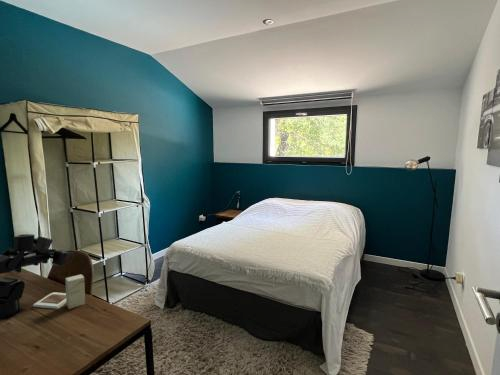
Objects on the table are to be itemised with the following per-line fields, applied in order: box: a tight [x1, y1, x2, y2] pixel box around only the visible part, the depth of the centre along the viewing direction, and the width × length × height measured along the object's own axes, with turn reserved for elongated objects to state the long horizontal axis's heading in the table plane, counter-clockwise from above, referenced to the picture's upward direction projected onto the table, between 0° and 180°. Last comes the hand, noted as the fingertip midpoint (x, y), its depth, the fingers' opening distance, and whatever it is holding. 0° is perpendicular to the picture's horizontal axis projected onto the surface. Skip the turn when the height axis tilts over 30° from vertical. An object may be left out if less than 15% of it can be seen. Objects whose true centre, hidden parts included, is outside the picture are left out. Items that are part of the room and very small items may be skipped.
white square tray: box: [33, 291, 66, 310], centre depth 117 cm, size 10×11×1 cm
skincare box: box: [64, 273, 86, 310], centre depth 115 cm, size 6×4×12 cm
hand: (63, 252), depth 130 cm, fingers open, 9 cm apart
